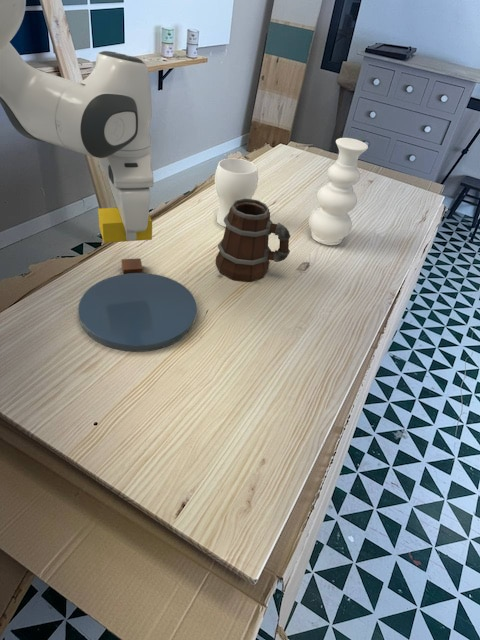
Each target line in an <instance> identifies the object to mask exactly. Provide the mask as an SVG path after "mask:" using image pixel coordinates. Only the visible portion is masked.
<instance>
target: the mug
mask: <svg viewBox="0 0 480 640" xmlns="http://www.w3.org/2000/svg"><path fill="white" fill-rule="evenodd" d="M224 222H225V224H226V227H224V228H225V229H224V233H223V236H222V239H221V240H220V241H219V243H218V244H217V248H218V250H219V251H218V253H217V255H216V257H215V265H216V268H217V269H218V272H219V273H220V274H221V275H223V276H225V277H227V278H228V279H231V280H232V281H239V282H248V283H250V282H251V283H252V282H254V281H258V280H260V279H263V278H265V276H266V274H267V272H268V271H269V266H270V261H273V262H274V263H279V262H283V261H284V260H286V259H287V258H288V257H289V255H290V253H291V250H290V248H289V246H290V245H289V243H290V239H291V234H290V231H289V229H288V228H287V227H286V226H285V225H284V224H282V223H280V222H277V223H274V222H273V221H272V220H271V212H270V208H269V207H268V205H267V204H266V203H264V202H262V201H260V200H258V199H253V198H251V199H241V200H236V201H235V202H234V203H233V205H232V206H231V208H230V210H229V213H228V214H227V215H226V217H225V218H224ZM271 234H274V235H275V236H277V239H278V240H279V247H278V249H275V250H274V251H272V250H271V248H270V246H269V236H270V235H271Z"/></svg>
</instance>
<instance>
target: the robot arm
mask: <svg viewBox="0 0 480 640" xmlns="http://www.w3.org/2000/svg"><path fill="white" fill-rule="evenodd" d="M26 5H27V0H0V105H1V107H2V110H3V111H4V113H5V114H6V116H7V118H8V120H9V122H10V123H11V125H12V127H13V128H14V129H15V130H16V132H18V133H19V134H20V135H21V136H23V137H25V138H27V139H31V140H35V141H38V142H44V143H48V144H51V145H54V146H57V147H60V148H63V149H66V150H68V151H71V152H72V151H73V152H76V153H79V154H81V155H84V156H88V157H92V158H98V167H99V169H100V170H101V171H102V172H103V173H105V175H106V177H107V179H108V185H109V187H110V190H111V192H112V196H113V198H114V202H115V205H116V208H118V210H119V213H120V216H121V219H122V222H123V224H124V227H125V236H126V239H127V241H126V242H135V241H134V240H136V232H142V231H145V230H146V228H147V226H148V218H149V215H150V203H151V190H150V188H153V187H154V183H155V181H154V172H153V168H152V138H151V137H152V136H151V135H150V124H151V120H152V88H151V80H150V78H151V77H150V73H149V69H148V66H147V64H146V62H144V61H143V59H140V58H139V57H136V56H132V55H128V54H124V53H118V52H115V51H109V50H103V51H100V52H98V53H97V54H96V59H95V67H94V68H93V70H92V71H91V72H90V74H89V75H88V76H87V77H85V78H84V79H83V80H81V81H80V82H79V81H76V80H72V79H68V78H65V77H62V76H58V75H56V74H53V73H49V72H47V71H45V70H42V69H40V68H39V69H38V68H36V67H34V66H31V65H29V64H28V63H27V62H26V61H25V60H24V59H23V57H22V56H21V54H20V53H19V52H18V51H17V49H16V48H15V47H14V46H13V44H12V43H11V41H12V39H13V38H14V37H15V36H16V35H17V33H18V31H19V30H20V27H21V25H22V23H23V20H24V17H25V12H26Z"/></svg>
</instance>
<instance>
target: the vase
mask: <svg viewBox="0 0 480 640" xmlns="http://www.w3.org/2000/svg"><path fill="white" fill-rule="evenodd" d="M335 144H336V146H337V149H338V156H337V158H336V160H335V162H334V163H333V164H331V165H330V166H328V168H327V171H326V175H327V178H328V179H329V181H328V182H327V184H325V185H323V186H322V187H320V188H319V190H318V191H317V195H316V200H317V202H318V203H317V204H318V205H319V207H318V208H315V209H314V210H313V211H312V212H311V213H310V215H309V217H308V226H309V230H310V231H311V232H310V237H311V238H312V239H313V240H314V241H316V242H317V243H319V244H322V245H324V246H325V245H326V246H336V245H340V244H341V243H342V241H343V239H345V238H346V237H347V236H348V235H349V234H350V233H351V231H352V228H353V221H352V219H351V216H350V214H349V212H352V211H353V210H354V209H355V207H356V206H357V203H358V196H357V194H356V192H355V191H354V187H353V186H354V185H356V184H357V183H358V182H359V181H360V179H361V173H360V170H359V169H358V160H359V157H360V156H361V155H363V153H364V152H366V151H367V150H368V149H369V146H368V144H367V143H365V142H364V141H362V140H359V139H356V138H351V137H339V138H337V139H336V140H335Z"/></svg>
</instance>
